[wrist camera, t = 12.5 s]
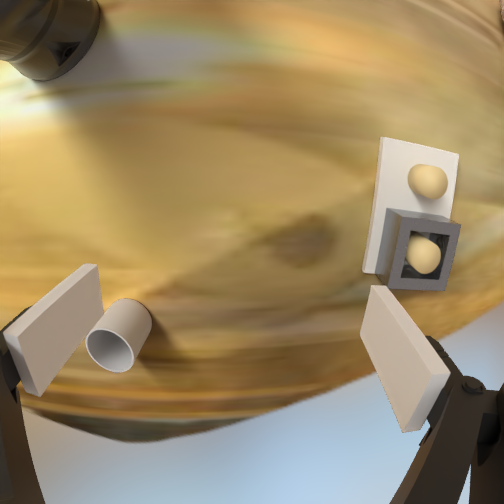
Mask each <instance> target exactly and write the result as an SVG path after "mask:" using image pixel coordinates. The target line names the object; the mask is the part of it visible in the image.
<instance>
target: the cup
mask: <svg viewBox="0 0 504 504" xmlns="http://www.w3.org/2000/svg"><path fill="white" fill-rule="evenodd" d="M151 328H152V319H151V316H150V314H149V312H148V311H147V309H146V308H145V307H144V306H143V305H142V304H141V303H139V302H138V301H135V300H133V299H127V298H124V299H119V300H117V301H115V302H114V303H113V304H112V305H111V306H110V307H109V308H108V310H107V311H106V312H105V313H104V315H103V316H102V317H101V318H100V320H99V321H98V322H97V323H96V325H95V326H94V327H93V328H92V329H91V331H90V332H89V333H88V334H87V337H86V348H87V350H88V353H89V355H90V356H91V357H92V359H93V360H94V361H95V362H96V363H97V364H98V365H100V366H101V367H103V368H105V369H107V370H109V371H112V372H113V373H120V372H124V371H127V370H128V369H130V368H131V367H132V365H133V363H134V361H135V359H136V357H137V356H138V354H139V352H140V350H141V348H142V346H143V344H144V342H145V341H146V339H147V337H148V335H149V333H150V331H151Z"/></svg>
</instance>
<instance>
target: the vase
mask: <svg viewBox="0 0 504 504" xmlns="http://www.w3.org/2000/svg"><path fill="white" fill-rule="evenodd" d="M500 5H501V9H502V11H501V14H502V15H501V16H502V19H503V21H504V0H500Z"/></svg>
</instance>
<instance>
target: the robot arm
mask: <svg viewBox="0 0 504 504" xmlns="http://www.w3.org/2000/svg"><path fill="white" fill-rule="evenodd" d="M99 21H100V11H99V6H98V4H97V2H96V0H0V60H3V61H8V62H9V63H10V64H11V65H12V66H13V67H15V68H16V69H17V70H18V71H19V72H20V73H21V74H23V75H24V76H26V77H28V78H31V79H36V80H51V79H54V78H57V77H59V76H61V75H63V74H65V73H66V72H68V71H69V70H70V69H71V68H73V67H74V66H75V65H76V64H77V63H78V62H79V61H80V60H81V59H82V57H83V56H84V55H85V54H86V52H87V51H88V49H89V48H90V46H91V44H92V42H93V40H94V38H95V36H96V33H97V30H98V27H99ZM103 315H104V310H103V303H102V296H101V289H100V281H99V273H98V265H96V264H86V263H85V264H83V265H82V266H81V267H79V268H78V269H77V270H76V271H74V272H73V273H72V274H71V275H69V276H68V277H67V278H66V279H64V280H63V281H62V282H61V283H59V284H58V285H57V286H56V287H54V288H53V289H52V290H51V291H50V292H48V293H47V294H46V295H45V296H44V297H42V298H41V299H40V300H39V301H38V302H37V303H35V304H34V305H32V306H30V307H28V308H26V309H24V310H23V311H22V312H21V313H20V314H19V315H18V316H16V317H15V318H14V319H13V321H11V322H9V323H8V324H7V325H6V326H5V327H4V328H3V329H2V330H1V331H0V504H45V501H44V498H43V495H42V492H41V489H40V486H39V482H38V479H37V476H36V472H35V469H34V465H33V461H32V457H31V453H30V449H29V445H28V440H27V436H26V431H25V426H24V420H23V415H22V409H21V402H20V395H19V391H18V389H17V387H16V385H17V384H18V383H19V382H20V380H21V382H22V384H23V387H24V389H25V391H26V392H28V393H30V394H33V395H36V396H39V397H41V395H42V394H43V392H44V391H45V390H46V388H47V387H48V386H49V384H50V383H51V381H52V380H53V379H54V377H55V376H56V375H57V373H58V372H59V371H60V369H61V368H62V367H63V365H64V364H65V363H66V361H67V360H68V359H69V358H70V356H71V355H72V354H73V352H74V351H75V350H76V348H77V347H78V346H79V345H80V343H81V342H82V341H83V340H84V338H85V337H86V336H87V334H88V333H89V332H90V331H91V329H92V328H93V327H94V326H95V325H96V323H97V322H98V321H99V320H100V318H101V317H102V316H103ZM360 337H361V339H362V341H363V343H364V345H365V347H366V350H367V352H368V354H369V356H370V358H371V361H372V363H373V365H374V367H375V369H376V372H377V374H378V376H379V378H380V381H381V383H382V385H383V388H384V390H385V392H386V395H387V397H388V399H389V402H390V404H391V406H392V409H393V411H394V413H395V416H396V418H397V421H398V423H399V426H400V428H401V431H402V433H404V432H410V431H417V430H420V429H421V428H422V426H423V424H424V422H425V421H426V419H427V420H428V422H429V424H430V428H429V429H428V431H427V433H426V434H425V436H424V438H423V439H422V441H421V442H420V444H419V446H420V448H419V450H418V452H417V454H416V456H415V458H414V461H413V462H412V464H411V466H410V468H409V470H408V472H407V474H406V476H405V478H404V479H403V481H402V483H401V485H400V487H399V488H398V490H397V492H396V493H395V495H394V497H393V499H392V500H391V502H390V504H457V503H458V500H459V497H460V495H461V492H462V489H463V486H464V483H465V480H466V477H467V474H468V471H469V467H470V464H471V476H470V495H469V504H504V383H503V385H502V387H501V388H500V390H499V391H494V390H486V388H485V386H484V385H483V383H482V382H480V381H479V380H478V379H476V378H474V377H470V376H463V375H462V373H461V372H460V371H459V369H458V368H457V366H456V365H455V364H454V362H453V361H452V360H451V358H450V357H448V356H449V355H448V354H447V353H446V352H445V351H444V349H443V347H442V346H441V345H440V344H439V342H437V341H436V340H435V339H433V338H432V337H431V336H424V335H423V333H422V332H421V330H420V329H419V328H418V326H417V325H416V324H415V322H414V321H413V320H412V319H411V317H410V316H409V315H408V313H407V312H406V311H405V309H404V308H403V307H402V306H401V304H400V303H399V302H398V300H397V299H396V298H395V297H394V295H393V294H392V293H391V292H390V290H389V289H388V288H387V287H386V286H380V285H371V290H370V294H369V298H368V303H367V307H366V311H365V315H364V319H363V323H362V327H361V331H360Z"/></svg>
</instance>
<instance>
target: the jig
mask: <svg viewBox="0 0 504 504" xmlns="http://www.w3.org/2000/svg"><path fill="white" fill-rule="evenodd" d="M458 158H459V154H456V153H452V152H448V151H444V150H440V149H436V148H432V147H428V146H424V145H420V144H415V143H411V142H406V141H401V140H397V139H392V138H387V137H380V146H379V156H378V166H377V175H376V183H375V191H374V198H373V205H372V212H371V219H370V225H369V232H368V238H367V243H366V249H365V255H364V260H363V265H362V271H363V272H364V273H373V274H375V268H376V263H377V258H378V253H379V248H380V242H381V237H382V231H383V226H384V219H385V213H386V208H393V209H401V210H408V211H415V212H422V213H428V214H435V215H441V216H444V217H446V218H448V219H450V214H451V209H452V203H453V197H454V190H455V183H456V176H457V167H458ZM429 236H430V233H429V232H421V231H413V230H411V231H410V236H409V241H408V246H407V251H406V256H405V260H404V265H411V266H412V267H413V268H415V269H416V270H417V271H418V272H419V273H422V274H427V273H430V272H432V271H433V270H434V269H435V268H436V267H437V266H438V264H439V262H440V258H441V252H440V249H439V247H438V246H437V245H436V244H434V243H433V242H431V241H430V240H429Z"/></svg>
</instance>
